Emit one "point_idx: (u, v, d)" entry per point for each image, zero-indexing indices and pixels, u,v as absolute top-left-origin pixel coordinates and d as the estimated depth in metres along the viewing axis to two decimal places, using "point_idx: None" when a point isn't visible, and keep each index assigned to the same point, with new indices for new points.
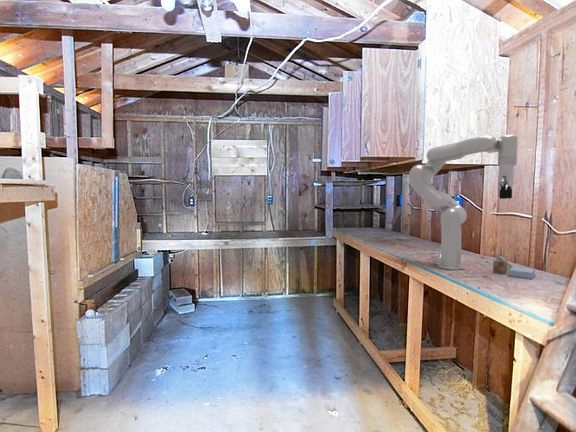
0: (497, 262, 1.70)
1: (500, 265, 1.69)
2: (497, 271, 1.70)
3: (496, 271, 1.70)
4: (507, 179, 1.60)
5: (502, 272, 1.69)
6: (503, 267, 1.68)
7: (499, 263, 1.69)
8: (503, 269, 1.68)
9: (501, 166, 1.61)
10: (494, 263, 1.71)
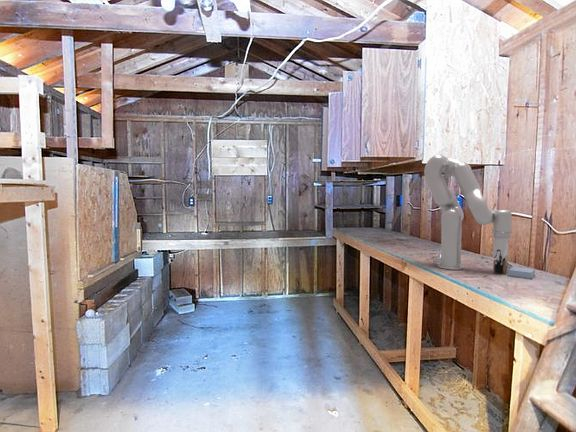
0: None
1: None
2: None
3: None
4: (501, 256, 1.67)
5: None
6: (503, 267, 1.68)
7: None
8: (503, 269, 1.68)
9: (496, 240, 1.68)
10: (494, 263, 1.71)
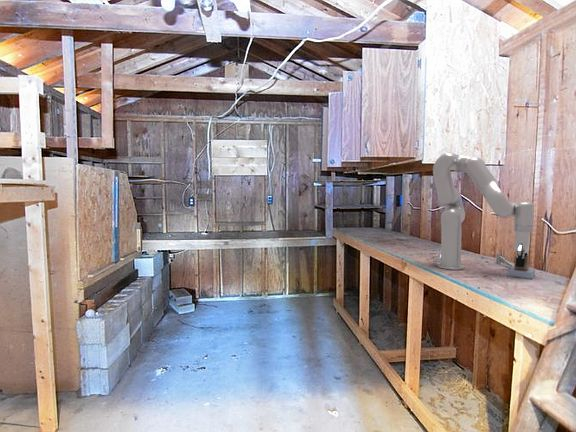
0: None
1: None
2: (519, 268, 1.63)
3: (517, 268, 1.63)
4: (524, 248, 1.59)
5: (524, 269, 1.62)
6: (525, 264, 1.61)
7: None
8: (525, 266, 1.61)
9: (517, 233, 1.61)
10: (515, 259, 1.64)
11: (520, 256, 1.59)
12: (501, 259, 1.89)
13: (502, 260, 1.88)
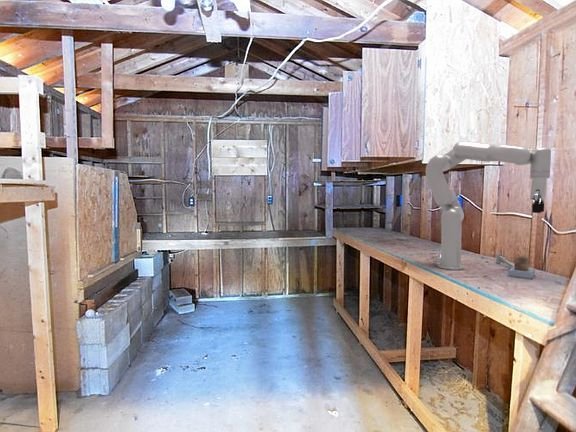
0: (519, 258, 1.63)
1: (522, 261, 1.62)
2: (519, 268, 1.63)
3: (517, 268, 1.63)
4: (541, 193, 1.56)
5: (524, 269, 1.62)
6: (525, 264, 1.61)
7: (521, 259, 1.62)
8: (525, 266, 1.61)
9: (534, 180, 1.58)
10: (515, 259, 1.64)
11: (537, 201, 1.56)
12: (501, 259, 1.89)
13: (502, 260, 1.88)
